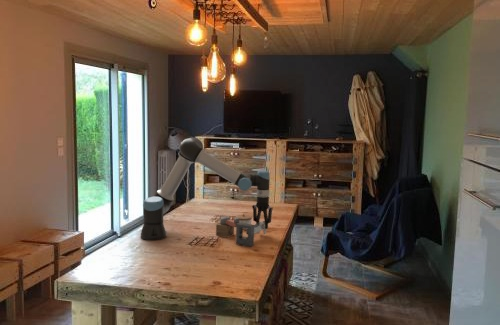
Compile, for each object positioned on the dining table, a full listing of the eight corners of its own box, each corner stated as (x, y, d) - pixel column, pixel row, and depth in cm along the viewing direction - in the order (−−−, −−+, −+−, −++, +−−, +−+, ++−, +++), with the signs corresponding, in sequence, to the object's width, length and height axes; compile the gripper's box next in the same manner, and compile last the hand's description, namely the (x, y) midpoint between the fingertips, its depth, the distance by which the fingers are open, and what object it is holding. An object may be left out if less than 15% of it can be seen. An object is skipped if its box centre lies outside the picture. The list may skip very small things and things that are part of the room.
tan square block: (227, 237, 270) (227, 226, 269) (216, 235, 274) (216, 224, 273) (233, 234, 277) (234, 223, 276) (222, 232, 281) (223, 221, 280)
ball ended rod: (218, 223, 275) (218, 214, 274) (226, 221, 279) (226, 213, 278) (234, 228, 263) (234, 219, 262) (242, 227, 266) (242, 218, 266)
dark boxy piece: (250, 246, 253) (251, 226, 251) (235, 244, 257) (236, 224, 256) (253, 245, 256) (254, 224, 255) (239, 242, 261) (239, 222, 259)
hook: (252, 236, 259) (252, 226, 259) (245, 234, 261) (245, 225, 261) (267, 228, 277) (267, 219, 276) (260, 227, 279) (261, 218, 278)
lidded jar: (249, 231, 286) (250, 216, 285) (233, 229, 288) (233, 215, 287) (252, 226, 296) (253, 213, 295) (237, 225, 298) (237, 211, 297)
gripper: (248, 195, 274) (247, 232, 276) (272, 198, 266) (271, 236, 269) (253, 193, 280) (252, 229, 283) (277, 196, 272) (276, 233, 275)
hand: (261, 233), depth 276 cm, fingers open, 4 cm apart
